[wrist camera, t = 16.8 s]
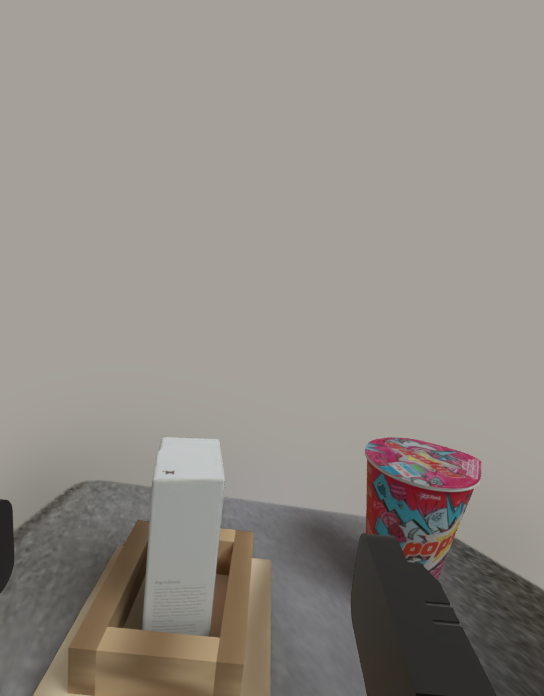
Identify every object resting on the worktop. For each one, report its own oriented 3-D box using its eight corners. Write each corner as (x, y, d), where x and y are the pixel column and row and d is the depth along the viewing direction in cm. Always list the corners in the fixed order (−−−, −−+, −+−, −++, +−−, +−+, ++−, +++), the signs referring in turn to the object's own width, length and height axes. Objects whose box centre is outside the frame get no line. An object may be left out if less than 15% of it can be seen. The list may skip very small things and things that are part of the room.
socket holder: (270, 570, 35) (275, 528, 34) (267, 742, 22) (276, 681, 22) (117, 555, 35) (119, 512, 34) (27, 719, 22) (27, 657, 21)
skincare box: (209, 655, 26) (226, 480, 24) (139, 661, 25) (149, 480, 23) (207, 582, 32) (220, 437, 29) (150, 585, 31) (159, 435, 29)
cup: (420, 659, 28) (453, 501, 26) (323, 585, 34) (344, 450, 32) (470, 594, 35) (500, 464, 33) (382, 541, 41) (402, 427, 38)
